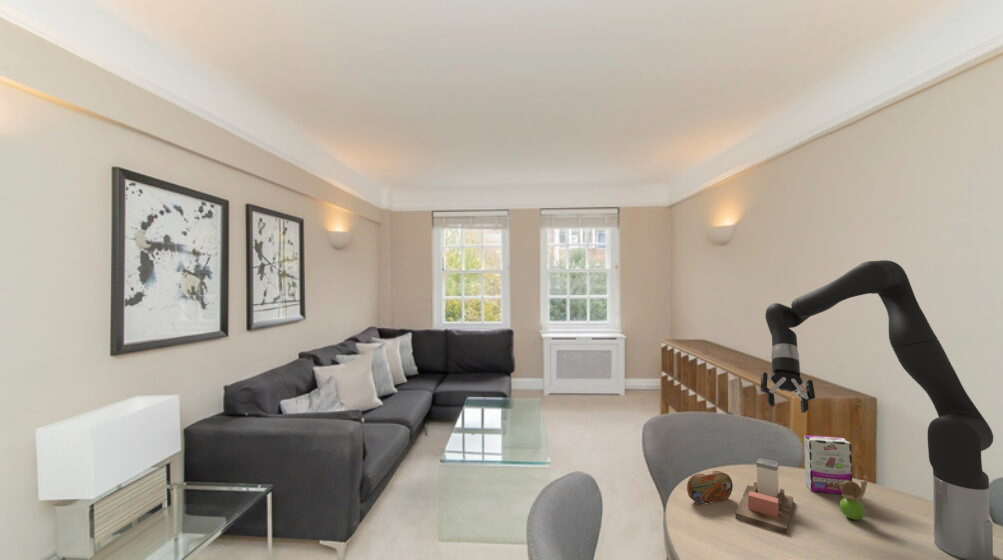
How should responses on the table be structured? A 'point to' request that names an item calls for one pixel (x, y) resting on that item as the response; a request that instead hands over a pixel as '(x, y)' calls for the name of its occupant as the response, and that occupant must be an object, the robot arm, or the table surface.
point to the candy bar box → (827, 463)
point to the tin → (709, 487)
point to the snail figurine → (853, 499)
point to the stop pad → (763, 504)
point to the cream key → (767, 477)
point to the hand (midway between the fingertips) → (787, 409)
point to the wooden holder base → (764, 519)
